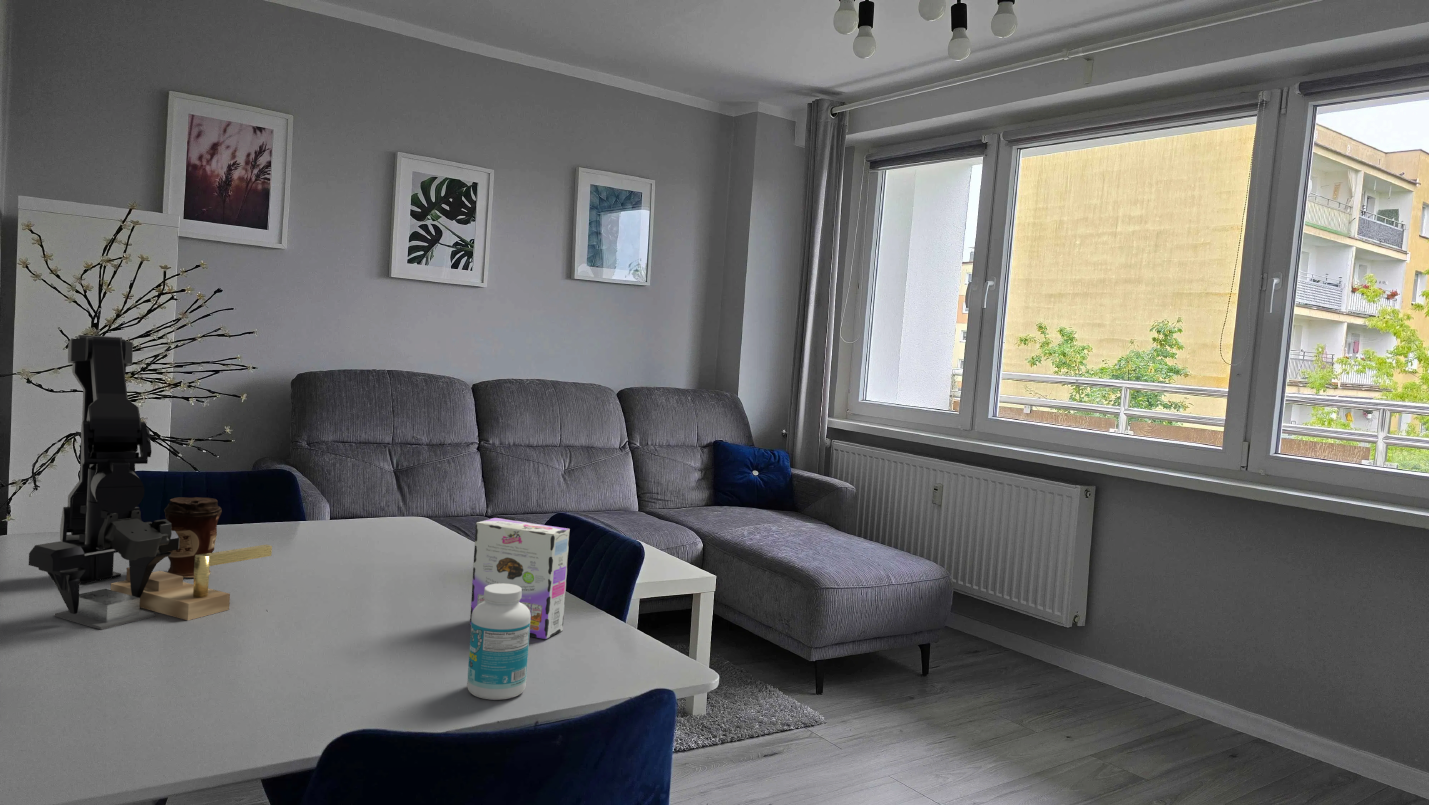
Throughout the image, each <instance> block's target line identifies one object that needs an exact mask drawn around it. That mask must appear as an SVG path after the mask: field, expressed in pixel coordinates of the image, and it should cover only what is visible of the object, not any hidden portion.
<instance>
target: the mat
mask: <svg viewBox="0 0 1429 805" xmlns="http://www.w3.org/2000/svg"><path fill="white" fill-rule="evenodd" d="M54 617H56V618H59V619H63V620H67V621H70V622H73V623H76V624H80V625H82V626H83V625H84V626H87V627H91V628H94V629H97V630H101V631H102V630H106V629H109V628H110V629H111V628H114V627H118V626H122V625H126V624H129V623H133V622H137V621H141V620H145V619H150V618H154V617H156V613H153V612H150V611H148V610H147V611H146V610H144V609H139V615H136V616H132V617H128V618H124V619H119V620H115V621H111V622H107V623H106V622H103V621H100V620H96V619H93V618H89V617H86V616H82V615H79V614H72V613H70V612H69V610H68V609H67V610H65V611H60V612H55V613H54Z"/></svg>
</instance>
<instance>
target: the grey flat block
mask: <svg viewBox="0 0 1429 805" xmlns="http://www.w3.org/2000/svg"><path fill="white" fill-rule="evenodd" d="M139 610H140V598H138V597H135V596H131V595H127V594H123V593H120V592H116V591H112V590H111V589H109V588H108V589H107V588H103V589H98V590H97V589H96V590H92V591H86V592H84V593H79V606H78V612H77V614H79V615H82V616H86V617H89V618H93V619H96V620H100V621H103V622H106V623H107V622H111V621H115V620H119V619H124V618H128V617H132V616H136V615H139Z"/></svg>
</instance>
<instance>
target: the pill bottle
mask: <svg viewBox="0 0 1429 805" xmlns="http://www.w3.org/2000/svg"><path fill="white" fill-rule="evenodd" d="M521 597H522V588H521V587H520V586H517V585H514V584H505V583H500V584H491V585H488V586H486V587H485V589H484V599H485V602H483V603H480V604H479V605H477V606H476V607H475V608H474V610H473V612H472V618H471V625H470V634H469V635H470V636H469V651H468V652H469V653H468V668H467V678H466V679H467V682H466V686H467V690H468V692H469V693H470V694H472V695H473V696H475V697H477V698H480V699H483V700H489V701H490V700H491V701H501V700H508V699H513V698H515V697H518V696H520V695H521V694H522V693H523V692H524V691H525V689H526V685H527V677H528V676H527V675H528V660H529V659H528V658H529V647H530V646H529V645H530V636H529V634H530V619H531V614H530V611H529V609H528V608H527V607H526V606H525V605H524V604H522V603H520V602H519V601H520V599H521Z"/></svg>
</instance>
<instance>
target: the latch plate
mask: <svg viewBox="0 0 1429 805" xmlns="http://www.w3.org/2000/svg"><path fill="white" fill-rule="evenodd" d="M125 577H126V579H125V580H120V581H116V582H111V583H110V590H112V591H116V592H120V593H123V594H127V595H131V596H132V593H131V585H130V570H129V567H126V576H125ZM193 584H194V583H190V582H189V583H188V582H186V581H184V577H183V576H179V575H175V574H171V573H168V571H162V570H157V571H152V573H151V575H150V577H149V579H148V582H147V584H146V586H145V588H144V591H143V593H142V595H141V597H140V607H139V609H140V608H141V609H143V610H147V611H148V610H149V611H151V612H156V613H159V614H162V615H166V616H169V617H174V618H178V619H180V620H186V621H191V620H192V621H193V620H195V619H198V618H202V617H206V616H211V615H213V614H217V613H222V612H225V611H229V610H230V603H231V602H230V600H231V593H229V592H225V591H220V590H217V589H213V588H209V587H208V596H206V597H193Z"/></svg>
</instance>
